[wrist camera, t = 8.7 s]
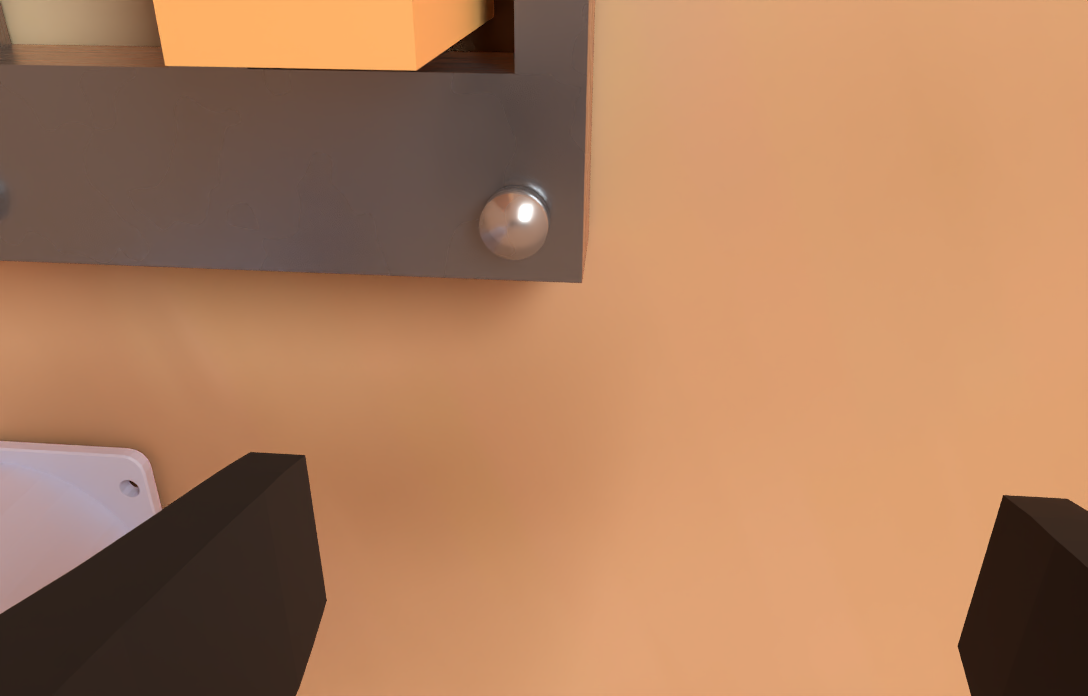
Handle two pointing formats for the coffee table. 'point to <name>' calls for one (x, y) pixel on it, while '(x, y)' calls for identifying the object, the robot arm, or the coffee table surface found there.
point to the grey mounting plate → (305, 159)
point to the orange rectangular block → (314, 32)
